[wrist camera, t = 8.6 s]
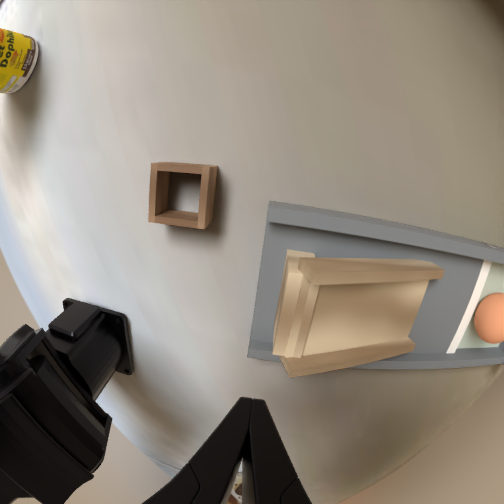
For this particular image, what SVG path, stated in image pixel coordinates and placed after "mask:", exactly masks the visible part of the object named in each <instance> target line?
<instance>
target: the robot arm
mask: <svg viewBox="0 0 504 504" xmlns="http://www.w3.org/2000/svg"><path fill="white" fill-rule="evenodd" d="M63 308H64V312H62V313H61V314H60V315H59V316H58V317H57V318H55V319H54V320H53V321H52V322H51V323H50V324H49V325H48V327H49V329H48V330H47V331H46V332H45V331H44V330H43V328H40V329H38V330H36V331H34V329H32V328H31V327H29V326H28V325H27V324H25V325H23V326H22V327H20V328H19V329H18V330H17V331H16V332H14V333H13V334H12V335H11V336H10V337H9V338H8V339H7V340H6V341H5V342H4V343H3V344H2V346H1V347H0V504H11V503H12V502H14V501H15V500H16V499H18V498H35V499H37V500H38V501H39V502H41V503H42V504H64V503H65V501H66V500H67V499H68V498H69V497H70V496H71V494H72V493H73V492H74V491H75V490H76V489H77V488H79V487H80V486H81V485H82V484H84V483H85V482H87V481H89V480H91V479H93V477H94V475H93V474H92V473H94V472H95V471H96V470H97V469H98V468H99V466H100V465H101V463H102V462H103V459H104V456H105V451H106V446H107V441H108V436H109V431H110V427H111V423H112V418H111V417H110V416H109V414H107V413H105V412H104V410H103V409H102V408H101V407H100V406H99V405H98V404H97V403H96V399H97V398H98V396H99V395H100V393H101V392H102V390H103V389H104V387H105V386H106V384H107V383H108V382H109V380H110V379H111V377H112V376H113V374H114V373H115V371H117V372H120V373H123V374H126V375H131V374H132V373H133V364H132V358H131V352H130V345H129V338H128V331H127V323H126V318H125V316H124V315H123V314H122V313H119V312H115V311H112V310H108V309H104V308H101V307H98V306H94V305H91V304H87V303H84V302H81V301H76V300H73V299H70V298H66V299H65V300H64V301H63ZM118 318H119V319H120V320H119V319H118ZM242 457H243V460H242ZM241 461H242V504H312V502H311V501H310V499H309V497H308V496H307V494H306V492H305V490H304V488H303V486H302V484H301V482H300V480H299V478H298V475H297V473H296V471H295V469H294V467H293V464H292V462H291V460H290V458H289V456H288V453H287V451H286V449H285V447H284V444H283V442H282V440H281V437H280V435H279V433H278V431H277V428H276V426H275V424H274V421H273V419H272V416H271V414H270V412H269V409H268V407H267V405H266V402H265V401H264V400H262V399H252V398H247V397H240V398H239V400H238V401H237V402H236V404H235V405H234V406H233V407H232V409H231V410H230V411H229V413H228V414H227V415H226V416H225V418H224V419H223V420H222V422H221V423H220V424H219V425H218V427H217V428H216V429H215V430H214V432H213V433H212V434H211V435H210V436H209V438H208V439H207V440H206V441H205V443H204V444H203V445H202V446H201V447H200V449H199V450H198V451H197V452H196V453H195V455H194V456H193V457H192V458H191V459H190V460H189V462H188V463H187V464H186V465H185V466H184V467H183V468H182V469H181V470H180V472H179V473H178V474H177V475H176V476H175V477H174V478H173V479H172V480H171V481H170V482H169V483H167V484H166V485H165V486H164V487H163V488H162V489H160V490H159V491H158V492H157V493H155V494H154V495H153V496H151V497H150V498H149V499H147V500H146V501H145V502H143V503H142V504H227V503H228V500H229V497H230V494H231V491H232V488H233V485H234V482H235V479H236V476H237V473H238V470H239V467H240V464H241Z"/></svg>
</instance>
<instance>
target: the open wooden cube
mask: <svg viewBox="0 0 504 504" xmlns="http://www.w3.org/2000/svg"><path fill="white" fill-rule="evenodd" d="M217 168H218V166H212V165H201V164H188V163H174V162H159V163H151V175H150V193H149V222H152V223H160V224H168V225H176V226H183V227H191V228H199V229H205V228H206V227H207V226H208V225H209V224H210V223H211V222H212V220H213V209H214V198H215V188H216V177H217ZM170 172H183V173H195V174H202V176H201V188H200V199H199V212H198V213H194V212H185V211H177V210H168V209H167V208H168V191H169V176H170Z"/></svg>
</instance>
